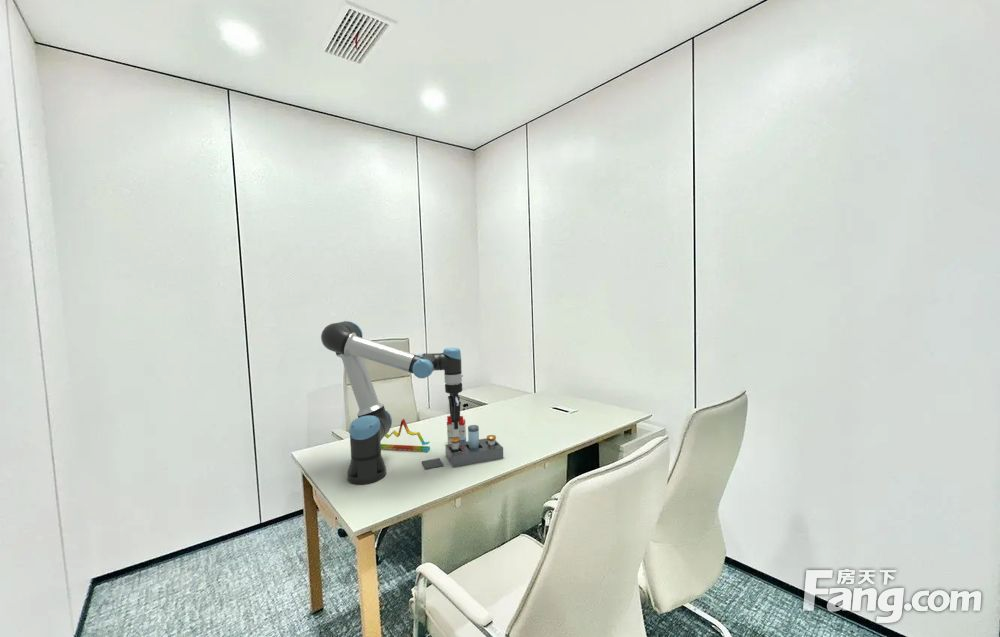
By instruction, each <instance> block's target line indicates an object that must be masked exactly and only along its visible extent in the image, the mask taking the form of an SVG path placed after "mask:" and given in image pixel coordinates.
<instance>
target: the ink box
mask: <svg viewBox="0 0 1000 637" xmlns="http://www.w3.org/2000/svg"><path fill="white" fill-rule="evenodd" d="M446 417H447V419H446V420H447V422H446V429H447V445H448V444H452V443H451V440H450V439H451V438H453V436H452V422H451V421H452V420H451V418H450V415H447V416H446ZM466 426H467V425H466V419H464V416H463V415H460V421H459V436H454V437H459V438H460V442H467V432H466V431H467V429H466ZM460 442H459V443H460Z"/></svg>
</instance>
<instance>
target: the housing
mask: <svg viewBox="0 0 1000 637" xmlns="http://www.w3.org/2000/svg"><path fill="white" fill-rule="evenodd" d="M444 450H445V457H446V458H447V460H448V462H449V463H450V465H451V467H452V468H459V467H464V466H469V465H474V464H475V465H476V464H481V463H486V462H487V463H488V462H492V461H498V460H503V459H504V447H503V446H502V445H501V444H500V442H498V441H497V440H496V439H495V446H488V440H487V437H486V438H479V448H478V449H472V450H469V445H468V440H466V442H460V443H459V452H454V453H452V444H448V443H447V444H445V448H444Z"/></svg>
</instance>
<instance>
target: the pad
mask: <svg viewBox="0 0 1000 637" xmlns="http://www.w3.org/2000/svg"><path fill="white" fill-rule="evenodd" d="M421 463H422V466H423V468H424V470H432V469H436V468H437V469H438V468H442V467H444V463H443V461H442V460H441V458H439V457H437V458H432V459H426V460H422V461H421Z"/></svg>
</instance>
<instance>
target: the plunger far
mask: <svg viewBox="0 0 1000 637" xmlns="http://www.w3.org/2000/svg"><path fill="white" fill-rule="evenodd" d="M486 438H487V440H488V446H495V440H496V439H497V436H496V435H494V434H490V435H486Z"/></svg>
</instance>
